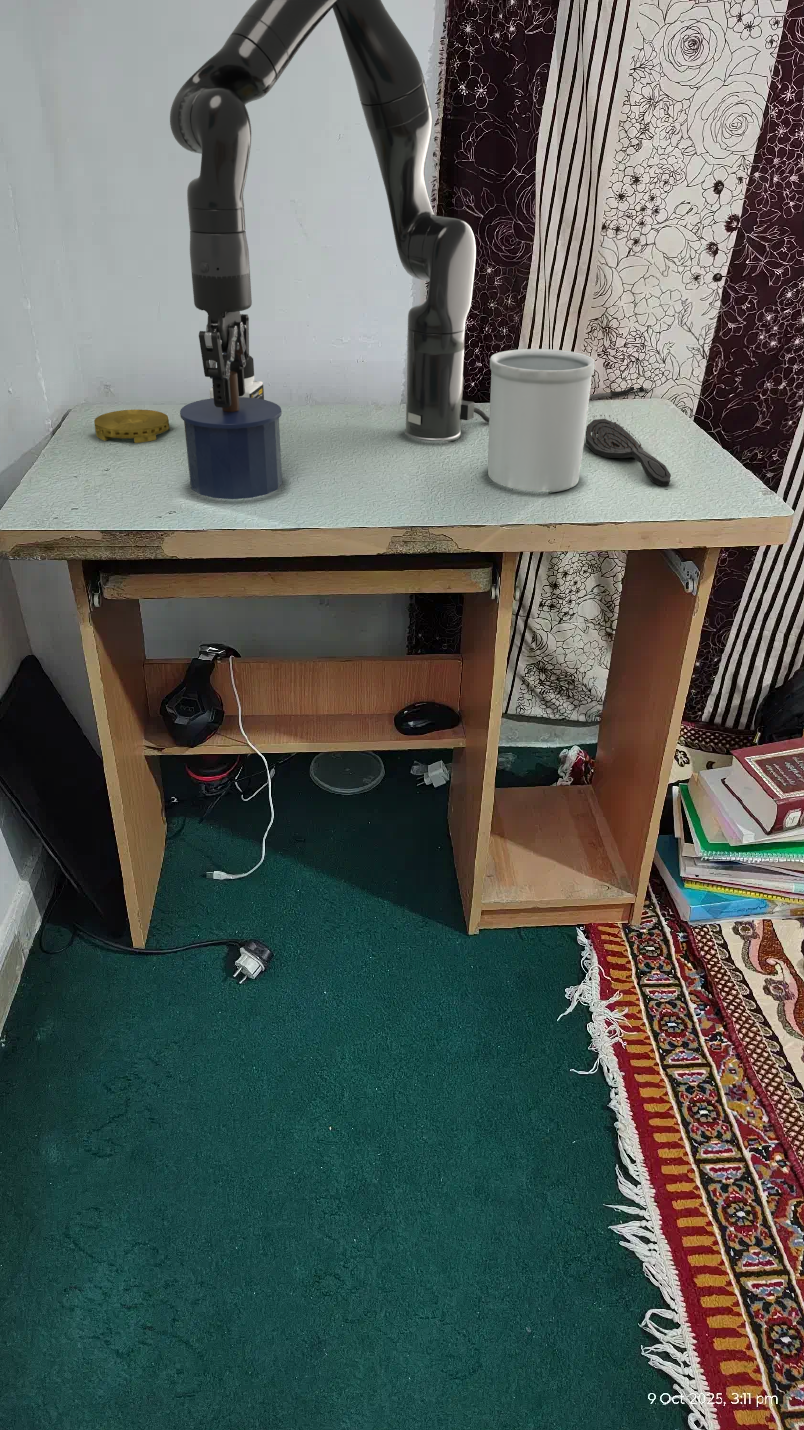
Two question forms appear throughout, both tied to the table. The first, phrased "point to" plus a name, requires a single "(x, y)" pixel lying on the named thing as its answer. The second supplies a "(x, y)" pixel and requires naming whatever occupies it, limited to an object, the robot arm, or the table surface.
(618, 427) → the hairbrush
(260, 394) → the medicine bottle
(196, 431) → the pot
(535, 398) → the utensil holder
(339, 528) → the table surface
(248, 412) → the lid
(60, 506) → the table surface
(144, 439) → the golden brown disc
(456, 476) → the table surface
